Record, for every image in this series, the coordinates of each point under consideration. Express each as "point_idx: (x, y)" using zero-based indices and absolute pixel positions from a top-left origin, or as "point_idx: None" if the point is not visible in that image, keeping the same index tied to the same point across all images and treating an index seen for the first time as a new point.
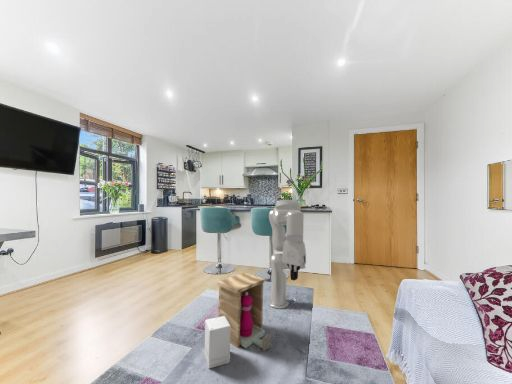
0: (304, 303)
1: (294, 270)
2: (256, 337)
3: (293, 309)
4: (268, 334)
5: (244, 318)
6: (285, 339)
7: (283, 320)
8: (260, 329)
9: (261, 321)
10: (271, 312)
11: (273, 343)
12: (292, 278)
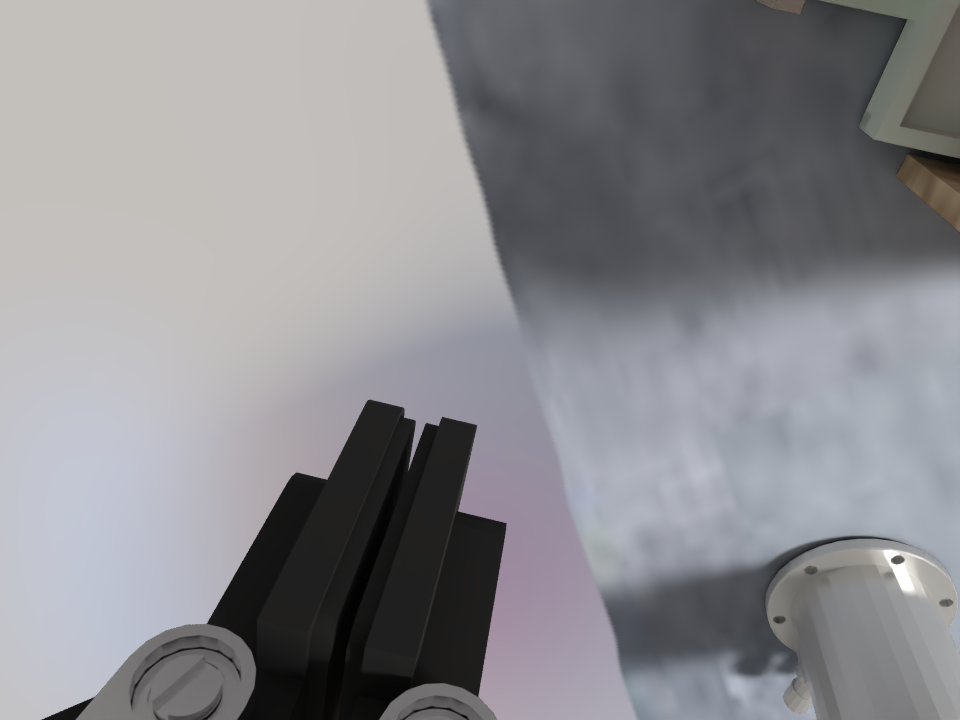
0: (649, 660)
1: (214, 686)
2: (928, 4)
3: (708, 570)
4: (795, 11)
5: None
6: (649, 180)
7: (745, 411)
8: (920, 130)
9: (944, 196)
10: (885, 473)
11: (734, 69)
12: (406, 445)
